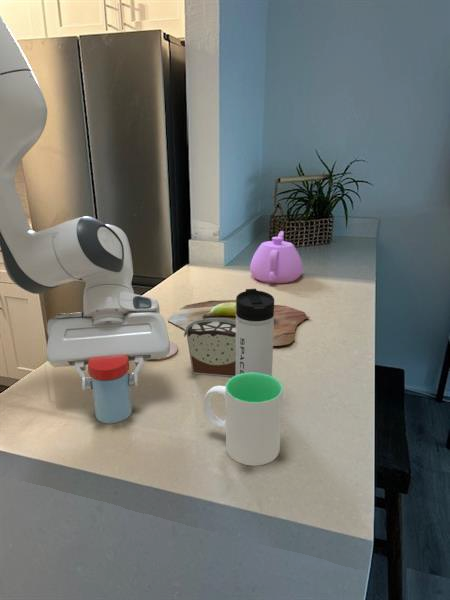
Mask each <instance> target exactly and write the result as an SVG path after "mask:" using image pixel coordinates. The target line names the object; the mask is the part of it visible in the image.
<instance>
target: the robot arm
mask: <svg viewBox="0 0 450 600" xmlns="http://www.w3.org/2000/svg"><path fill="white" fill-rule="evenodd" d="M47 119H48V107H47V102H46V99H45V96H44V94H43V91H42V89H41V86H40V84H39V82H38V80H37V78H36V76H35V74H34V72H33V69H32V68H31V66H30V63H29V61H28V59H27V58H26V56H25V54H24V52H23V50H22V49H21V47H20V45H19V43H18V41H17V40H16V38H15V36H14V35H13V33H12V32H11V30H10V28H9V27H8V25H7V24H6V22H5V21H4V19H3V18H2V16H1V15H0V251H1V257H2V260H3V265H4V268H5V271H6V273H7V276H8V277H9V279H10V280H11V281H12V283H14V284H15V285H16V286H18V287H19V288H20V289H22V290H23V291H25V292H27V293H31V294H35V295H40V294H43V293H46V292H48V291H51V290H53V289H56V288H58V287H60V286H62V285H66V284H68V283H73V282H75V281H79V280H82V281H84V282H85V286H84V290H83V296H82V297H83V299H82V301H83V302H82V303H83V306H82V307H83V308H82V310H83V311H77V312H70V313H63V312H61V313H57V314H56V315H55V316H53V317H51V318H50V319H49V320H48V321H47V323H46V324H47V325H46V333H47V336H48V338H47V343H46V345H47V346H46V352H45V358H46V360H47V362H48V363H49V364H50V365H51V366H52V367H54V368H64V367H74V369H75V370H76V372H77V374H78V375H79V377H80V378H81V389H82V391H83V392H85V391H92V384H91V376H88V377H87V376H86V374H85V373H84V372H86V371H87V366H88V361H89V360H90V359H91V358H92V357H103V356H115V355H127V356H128V360H129V362H133V361H134V364H135V368H134V370H133V372H128V373H129V375H128V378H129V386H130V387H134V386H135V387H136V386H138V385H139V376H140V374H141V372H142V370H143V368H144V366H145V363H144V361H147V360H146V359H157V358H166V357H167V355H168V354H169V353H170V344H169V342H170V338H169V332H168V328H167V324H166V321H165V318H164V317H163V316H162V314H161V313H160V304H159V301H158V299H156V298H154V297H149V296H145V295H140V294H137V293H135V291H134V287H133V286H132V280H133V278H134V277H133V276H134V268H133V267H134V266H133V258H132V257H133V256H132V250H131V246H130V242H129V239H128V236H127V234H126V233H125V232H124V230H123V229H122V228H120V227H118V226H116V225H113V224H108V223H104V222H102V221H100V219H97V218H94V217H93V216H89V215H85V216H80V217H77V218H73V219H70V220H67V221H64V222H62V223H61V222H60V223H58V224H57V225H54V226H51V227H49V228H46V229H42V230H38V231H35V230H33V228H32V227H31V226H30V223H29V220H28V218H27V215H26V212H25V209H24V206H23V204H22V202H21V201H22V200H21V199H20V196H19V193H18V191H17V188H16V183H15V174H16V170H17V168H18V166H19V165H20V162H21V161H22V160H23V159H24V157H25V156H26V154H27V153H28V152H30V150H31V149H32V148H33V147H34V146H35V145H36V144H37V142H38V141H39V139H40V138H41V136H42V134H43V132H44V130H45V127H46V126H47V125H46V124H47Z"/></svg>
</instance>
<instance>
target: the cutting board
mask: <svg viewBox="0 0 450 600" xmlns="http://www.w3.org/2000/svg"><path fill="white" fill-rule="evenodd" d="M236 310H237V309H236V299H223V300H222V299H221V300H206V301H201V302H196V303H191V304H186V305H184V306H183V307H181V308H179V309H178V310H177V311H175V312H174V313H173V314H172V315H171V316H170V317H169V318H168V319H167V321H168V322H170V323H172V324H174V325H175V326H177V327H179V328H181V329H184V331H185V330H186V327H187V326H188V325H189V324H190V323H192V322H194V321H197V320H201V319H206V318H225V319H231V320H234V321H236ZM307 319H311V317H310V316H308V315H307V314H306V312H305V311H303V310H300V309H296V308H294V307H291V306H288V305H280V304H274V332H273V347H281V346H287V345H290V344H291V343H293V341H295V335H296V334H295V333H296V329H297V327H298V325H299V324H301V323H302V322H304V321H305V320H307Z"/></svg>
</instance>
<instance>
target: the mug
mask: <svg viewBox="0 0 450 600" xmlns="http://www.w3.org/2000/svg"><path fill="white" fill-rule="evenodd" d="M213 394H218V395H220V396H221V397H222V398H223V399H224V403H225V419H224V420H223V419H221V418H219V416H217V415H216V414H215V412H214V410H213V408H212V403H211V398H212V395H213ZM282 407H283V385H282V383H281V381H280V380H279V379H278V378H276V377H274V376H273V375H272V376H270V375H267V374H263V373H255V372H250V373H242V374H238V375H236V376H234V377H229V379H228V380H227V381H226V383H225V385H215V386H213V387H211V388H210V389H208V390H207V392H206V393H205V396H204V399H203V410H204V413H205V416H206V419H208V421H209V422H210V423H211V424H212V425H213V426H215V427H216V428H218V429H220V430H223V431H224V433H225V451H226V453H227V454H228V456H229V457H230V458H231V459H232V460H234V461H235V462H236V463H239V464H242V465H246V466H249V467H250V466H253V467H256V466H257V467H258V466H264V465H267V464H270V463H272V462H273V461H274V460H276V458H277V457H278V456H279V454H280V450H281V429H282Z"/></svg>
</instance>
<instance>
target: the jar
mask: <svg viewBox="0 0 450 600" xmlns="http://www.w3.org/2000/svg"><path fill="white" fill-rule="evenodd" d="M129 373H130V372H129V371H128V372H127V373H126V374H125V375H123V376H121V377H119V378H116V379H112V380H97V379H94V378H92V377H91V376H90V377H91V384H92V390H91V391H92V400H93V406H94V414H95V415H94V416H95V418H96V420H97V421H98V422H99V423H102V424H110V425H111V424H117V423H121V422H123V421H126V420H127V419H128V418H129V417H130V416H131V415H132V413H133V406H132V396H131V395H132V394H131V386H129V378H128V375H129Z"/></svg>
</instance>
